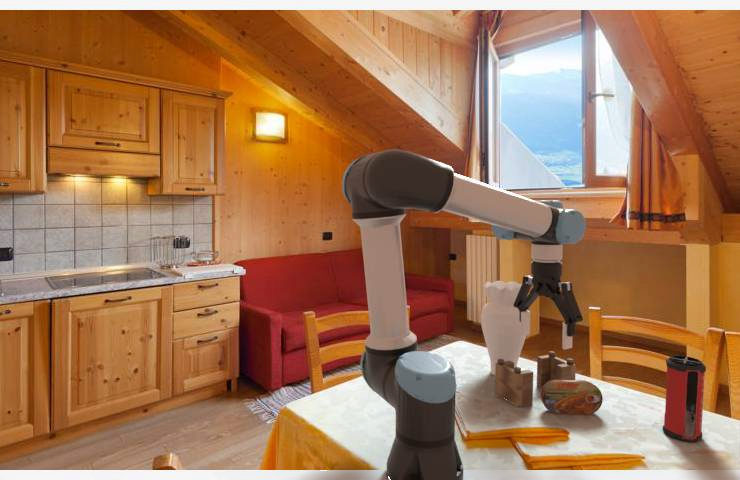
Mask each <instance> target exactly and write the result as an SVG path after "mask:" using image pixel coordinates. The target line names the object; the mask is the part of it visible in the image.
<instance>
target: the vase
mask: <svg viewBox="0 0 740 480" xmlns="http://www.w3.org/2000/svg"><path fill="white" fill-rule="evenodd" d="M521 285H522V283H519V282H517V281H512V280H511V281H507V282H504V281H502V280H495V281H493V282H490V281H486V282H485V283H484V285H483V286H482V287H483V290H484V293H485V295H486V297H487V300H488V301H487V303H485V304H484V305H483V307H482V308H481V315H480V324H481V329H482V334H483V338H484V341H485V345H486V348H487V352H488V356H489V360H490V374H491V375H493V376H494V377H495V373H496V363H497V362H498V359H503V360H504V362H505V361H512V362H514V367H518V361H519V358H520V356H521V353H522V350H523V347H524V344H525V340H526V337H527V335H525V336H522V335H521V322H520V320H519V317H520V316H519V314H520V311H519V310H518V308H517V307H514V306H513V304H514V302H515V300H516V297H517V295H518V293H519V290H520V288H521ZM527 311H529V310H527Z"/></svg>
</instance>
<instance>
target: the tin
mask: <svg viewBox="0 0 740 480" xmlns="http://www.w3.org/2000/svg"><path fill="white" fill-rule="evenodd" d="M540 400H541V402H542V404H543V406H544V407H545V408H546V410H548V411H549V412H550V413H551V414H555V415H582V416H585V415H586V416H587V415H593V414H594V413H596V412H598V411H599V409H600V408H601V406H602V405H603V400H604V399H603V393H602V391H601V390H600V388H599V387H598V386H596V385H595V384H594V383H592V382H590V381H588V380H583V379H580V380H579V379H575V380H551V381H549V382H547V383H546V384H545V385H544V386H543V387H542V388H540Z"/></svg>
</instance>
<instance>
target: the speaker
mask: <svg viewBox="0 0 740 480" xmlns="http://www.w3.org/2000/svg"><path fill="white" fill-rule="evenodd" d="M665 363H666V388H665V405H664V406H665V408H664V409H665V411H664V412H665V413H664V421H663V426H662V431H663V432H665V434H667V435H668V436H669V437H670V438H673V439H675V440H676V439H678V440H681V441H683V442H688V443H692V442H698V441H701V440H702V439H703V432H702V430H703V429H702V427H703V412H704V411H703V409H704V408H703V407H704V394H705V393H704V391H705V377H706V376H705V374H706V373H705V372H706V371H707V366H706V365H705V364H704V363H703V362H702V360H700V359H698V358H695V357H692V356H685V355H671V356H669V357H668V358H667V359H665Z"/></svg>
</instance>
